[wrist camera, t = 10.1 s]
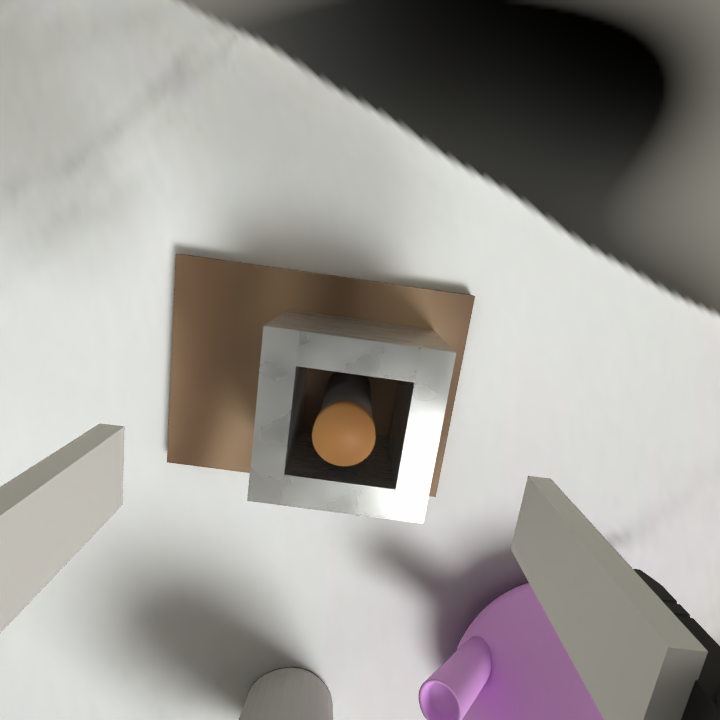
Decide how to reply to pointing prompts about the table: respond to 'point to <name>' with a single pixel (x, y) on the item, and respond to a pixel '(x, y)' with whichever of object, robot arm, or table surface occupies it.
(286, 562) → the table surface
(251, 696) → the coffee cup
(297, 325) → the hollow square block
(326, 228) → the table surface
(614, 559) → the robot arm
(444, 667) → the teapot
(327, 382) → the keeper
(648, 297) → the table surface
